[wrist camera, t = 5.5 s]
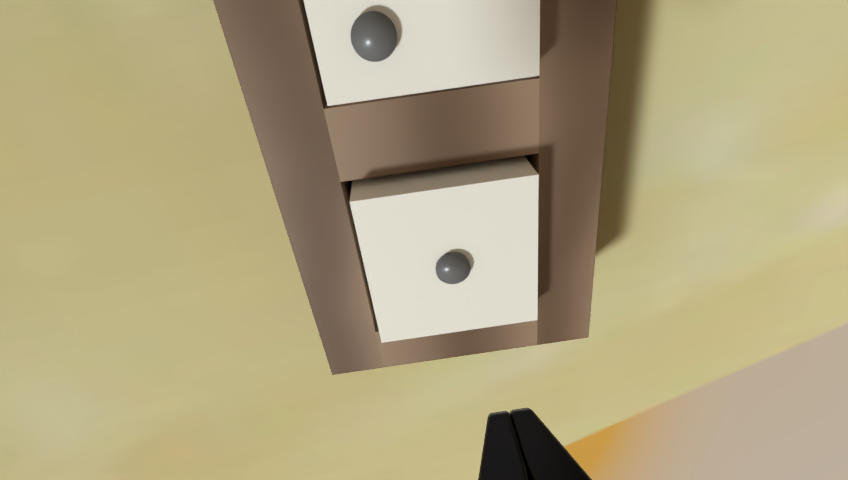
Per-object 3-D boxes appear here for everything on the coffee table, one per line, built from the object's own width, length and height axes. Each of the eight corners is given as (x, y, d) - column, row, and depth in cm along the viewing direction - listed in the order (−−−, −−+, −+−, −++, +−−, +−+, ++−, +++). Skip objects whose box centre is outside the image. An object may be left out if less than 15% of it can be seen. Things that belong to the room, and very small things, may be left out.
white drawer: (381, 300, 20) (381, 346, 17) (353, 170, 17) (349, 204, 14) (520, 280, 20) (538, 323, 17) (517, 147, 17) (540, 176, 14)
